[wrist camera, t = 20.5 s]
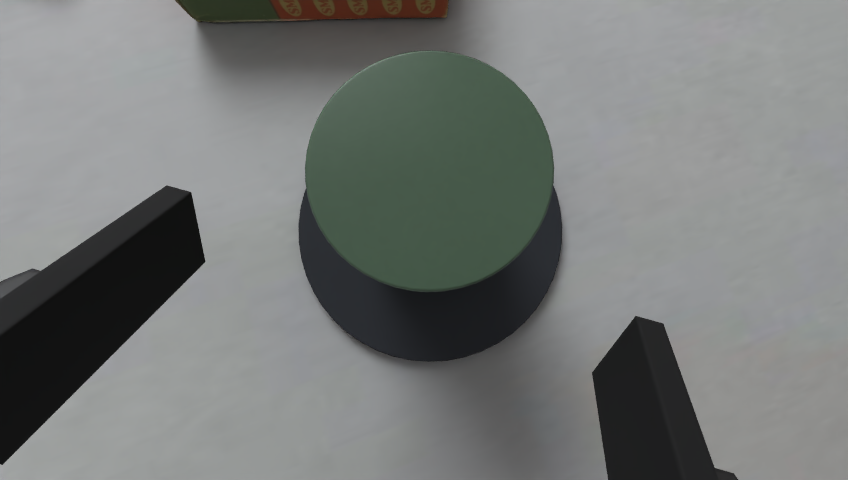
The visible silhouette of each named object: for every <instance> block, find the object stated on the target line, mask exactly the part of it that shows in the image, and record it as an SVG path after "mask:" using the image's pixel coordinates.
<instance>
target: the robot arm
mask: <svg viewBox="0 0 848 480" xmlns="http://www.w3.org/2000/svg"><path fill="white" fill-rule="evenodd" d="M204 263H205V258H204V253H203V248H202V243H201V238H200V233H199V228H198V223H197V218H196V214H195V209H194V204H193V199H192V194H191V192H188V191H185V190H181V189H178V188H174V187H170V186H165V187H164V188H162V189H161V190H159V191H158V192H156V193H155V194H153V195H152V196H150V197H149V198H148V199H146V200H145V201H143V202H142V203H140V204H139V205H137V206H136V207H134V208H133V209H131V210H130V211H128V212H127V213H125V214H124V215H123V216H121V217H120V218H118V219H117V220H115V221H114V222H112V223H111V224H109V225H108V226H106V227H105V228H103V229H102V230H101V231H99V232H98V233H96V234H95V235H93V236H92V237H90V238H89V239H87V240H86V241H84V242H83V243H81V244H80V245H78V246H77V247H76V248H74V249H73V250H71V251H70V252H68V253H67V254H65V255H64V256H62V257H61V258H59V259H58V260H56V261H55V262H54V263H52V264H51V265H49V266H48V267H46V268H45V269H43V270H42V271H39V270H35V269H30V270H28V271H25V272H23V273H20V274H18V275H15V276H13V277H10V278H8V279H5V280H3V281H1V282H0V464H1V465H3V464H4V463H5V462H6V461H7V460H8V459H9V458H10V457H11V456H12V455H13V454H14V453H15V452H16V451H17V450H18V449H19V448H20V447H21V446H22V445H23V444H24V443H25V442H26V441H27V440H28V439H29V438H30V437H31V436H32V435H33V434H34V433H35V432H36V431H37V430H38V429H39V428H40V427H41V426H42V425H43V424H44V423H45V422H46V421H47V420H48V419H49V418H50V417H51V416H52V415H53V414H54V413H55V412H56V411H57V410H58V409H59V408H60V407H61V406H62V405H63V404H64V403H65V402H66V401H67V400H68V399H69V398H70V397H71V396H72V395H73V394H74V393H75V392H76V391H77V390H78V389H79V388H80V387H81V386H82V385H83V384H84V383H85V382H86V381H87V380H88V379H89V378H90V377H91V376H92V375H93V374H94V373H95V372H96V371H97V370H98V369H99V368H100V367H101V366H102V365H103V364H104V363H105V362H106V361H107V360H108V359H109V358H110V357H111V356H112V355H113V354H114V353H115V352H116V351H117V350H118V349H119V348H120V347H121V346H122V345H123V344H124V343H125V342H126V341H127V340H128V339H129V338H130V337H131V336H132V335H133V334H134V333H135V332H136V331H137V330H138V329H139V328H140V327H141V326H142V325H143V324H144V323H145V322H146V321H147V320H148V319H149V318H150V317H151V316H152V315H153V314H154V313H155V312H156V311H157V310H158V309H159V308H160V307H161V306H162V305H163V304H164V303H165V302H166V301H167V300H168V299H169V298H170V297H171V296H172V295H173V294H174V293H175V292H176V291H177V290H178V289H179V288H180V287H181V286H182V285H183V284H184V283H185V282H186V281H187V280H188V279H189V278H190V277H191V276H192V275H193V274H194V273H195V272H196V271H197V270H198V269H199V268H200V267H201V266H202V265H203V264H204ZM592 375H593V382H594V388H595V395H596V401H597V408H598V415H599V421H600V428H601V435H602V441H603V448H604V454H605V461H606V468H607V474H608V480H738V479H737V477H736V476H735V475H734V473H730V472H727V471H723V470H720V469H717V468H714V465H713V462H712V459H711V457H710V454H709V451H708V448H707V445H706V443H705V440H704V437H703V434H702V431H701V429H700V426H699V423H698V420H697V417H696V414H695V412H694V409H693V406H692V403H691V400H690V398H689V395H688V392H687V389H686V386H685V384H684V381H683V378H682V375H681V372H680V369H679V367H678V364H677V361H676V358H675V355H674V353H673V350H672V347H671V344H670V341H669V338H668V336H667V333H666V330H665V327H664V324H663V323H659V322H655V321H652V320H648V319H645V318H641V317H637V316H635V318H634V319H633V320H632V322H631V323H630V324H629V325H628V327H627V328H626V329H625V331H624V332H623V333H622V335H621V336H620V337H619V338H618V340H617V341H616V342H615V344H614V345H613V346H612V348H611V349H610V350H609V351H608V353H607V354H606V355H605V357H604V358H603V359H602V361H601V362H600V363H599V364H598V366H597V367H596V368H595V370H594V371H593V372H592Z"/></svg>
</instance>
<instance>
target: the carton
mask: <svg viewBox="0 0 848 480" xmlns="http://www.w3.org/2000/svg"><path fill="white" fill-rule="evenodd" d="M175 1H176V2H177V3H178V4H179V5H180V6H181V7H182V8H183V9H184V10H185V11H186V12H187V13H188V14H189V15H190V16H191V17H192V18H194V19H195V20H196V21H198V22H202V21H205V22H250V21H298V20H315V19H317V20H320V19H339V20H340V19H341V20H342V19H359V18H379V19H380V18H396V17H399V18H432V17H443V18H446V17H447V11H448V2H449V0H175Z"/></svg>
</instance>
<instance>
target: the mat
mask: <svg viewBox="0 0 848 480" xmlns="http://www.w3.org/2000/svg"><path fill="white" fill-rule="evenodd" d="M561 242H562V222H561V213H560V207H559V203H558V199H557V194H556V191H555V189H554V186H553V189H552V195H551V200H550V203H549V206H548V209H547V212H546V215H545V217H544V219H543V221H542V224H541V226H540V228H539V230H538V231H537V233H536V234H535V236H534V237H533V239H532V240H531V242H530V243H529V244H528V246H527V247H526V248H525V249H524V250H523V251H522V252H521V254H520V255H519V256H518V257H516V258H515V259H514V260H513V261H512V262H511V263H510V264H509V265H507V266H506V267H505V268H503V269H502V270H500V271H499V272H497V273H496V274H494V275H492V276H490V277H488V278H486V279H484V280H482V281H480V282H478V283H475V284H472V285H469V286H466V287H463V288H459V289H454V290H449V291H441V292H418V291H410V290H405V289H400V288H395V287H392V286H390V285H387V284H384V283H381V282H378V281H376V280H374V279H373V278H371V277H369V276H367V275H365V274H363V273H362V272H360V271H359V270H357V269H356V268H354V267H353V266H351V265H350V264H349V263H348V262H347V261H346V260H345V259H344V258H342V257H341V256H340V255H339V254H338V253H337V252H336V250H335V249H334V248H333V247H332V246H331V244H330V243H329V242H328V241H327V239H326V238H325V236H324V234H323V233H322V231H321V230H320V228H319V226H318V224H317V222H316V219H315V217H314V215H313V213H312V209H311V206H310V203H309V199H308V195H307V188H306V190H305V193H304V197H303V201H302V205H301V209H300V218H299V245H300V252H301V259H302V262H303V266H304V269H305V273H306V276H307V278H308V280H309V283H310V285H311V287H312V289H313V292H314V293H315V295H316V296H317V298H318V300H319V301H320V303H321V305H322V306H323V307H324V309H325V310H326V311H327V312H328V314H329V315H330V316H331V317H332V318H333V320H334V321H335V322H336V323H338V324H339V325H340V326H341V327H342V328H343V329H344V330H345V331H346V332H347V333H349V334H350V335H352V336H353V337H355V338H356V339H357V340H359V341H360V342H362V343H364V344H366V345H368V346H369V347H371V348H373V349H375V350H377V351H380V352H383V353H386V354H388V355H391V356H394V357H399V358H403V359H408V360H415V361H429V362H430V361H447V360H452V359H457V358H462V357H466V356H469V355H472V354H475V353H478V352H481V351H483V350H485V349H487V348H489V347H491V346H493V345H495V344H497V343H499V342H500V341H502V340H503V339H505V338H506V337H508V336H509V335H511V334H512V333H513V332H514V331H515V330H517V329H518V328H519V327H520V326H521V325H522V324H523V323H524V322H525V321H526V320H527V319H528V318H529V317H530V315H531V314H532V313H533V312H534V311H535V310H536V308H537V307H538V305H539V304H540V302H541V301H542V299H543V298H544V296H545V294H546V293H547V291H548V288H549V286H550V284H551V282H552V280H553V277H554V274H555V271H556V268H557V265H558V261H559V256H560V250H561Z"/></svg>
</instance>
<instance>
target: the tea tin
mask: <svg viewBox="0 0 848 480" xmlns="http://www.w3.org/2000/svg"><path fill="white" fill-rule="evenodd" d="M305 182H306V188H307V195H308V199H309V203H310V206H311V209H312V213H313V215H314V217H315V219H316V222H317V224H318V226H319V228H320V230H321V231H322V233H323V234H324V236H325V238H326V239H327V241H328V242H329V243H330V244H331V246H332V247H333V248H334V249H335V250H336V252H337V253H338V254H339V255H340V256H341V257H342V258H344V259H345V260H346V261H347V262H348V263H349V264H350V265H351V266H353V267H354V268H356V269H357V270H359V271H360V272H362V273H363V274H365V275H367V276H369V277H371V278H373V279H374V280H376V281H378V282H381V283H384V284H387V285H390V286H392V287H395V288H400V289H405V290H410V291H418V292H441V291H449V290H454V289H459V288H463V287H466V286H469V285H472V284H475V283H478V282H480V281H482V280H484V279H486V278H488V277H490V276H492V275H494V274H496V273H497V272H499V271H500V270H502V269H503V268H505V267H506V266H507V265H509V264H510V263H511V262H512V261H513V260H514V259H515V258H516V257H518V256H519V255H520V254H521V252H522V251H523V250H524V249H525V248H526V247H527V246H528V244H529V243H530V242H531V240H532V239H533V237H534V236H535V234H536V233H537V231H538V230H539V228H540V226H541V224H542V221H543V219H544V217H545V215H546V212H547V209H548V206H549V203H550V200H551V195H552V189H553V183H554V162H553V153H552V148H551V144H550V140H549V136H548V133H547V131H546V128H545V126H544V123H543V121H542V119H541V117H540V115H539V113H538V112H537V110H536V108H535V106H534V105H533V104H532V102H531V101H530V100H529V98H528V97H527V96H526V94H525V93H524V92H523V91H522V90H521V89H520V88H519V87H518V86H517V85H516V84H515V83H514V82H513V81H511V80H510V79H509V78H508V77H506V76H505V75H504V74H503V73H501V72H499V71H498V70H496V69H495V68H493V67H491V66H490V65H488V64H485V63H483V62H481V61H479V60H477V59H474V58H471V57H468V56H464V55H461V54H456V53H451V52H445V51H414V52H409V53H403V54H398V55H395V56H392V57H389V58H386V59H383V60H381V61H379V62H376V63H374V64H372V65H370V66H368V67H367V68H365V69H363V70H362V71H360V72H358V73H357V74H355V75H354V76H353V77H352V78H350V79H349V80H348V81H347V82H345V83H344V84H343V85H342V86H341V87H340V88H339V89H338V91H337V92H336V93H335V94H334V95H333V96H332V97H331V99H330V100H329V101H328V103H327V104H326V105H325V107H324V109H323V110H322V112H321V114H320V116H319V117H318V119H317V121H316V124H315V126H314V129H313V131H312V134H311V137H310V141H309V145H308V149H307V155H306V164H305Z"/></svg>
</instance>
